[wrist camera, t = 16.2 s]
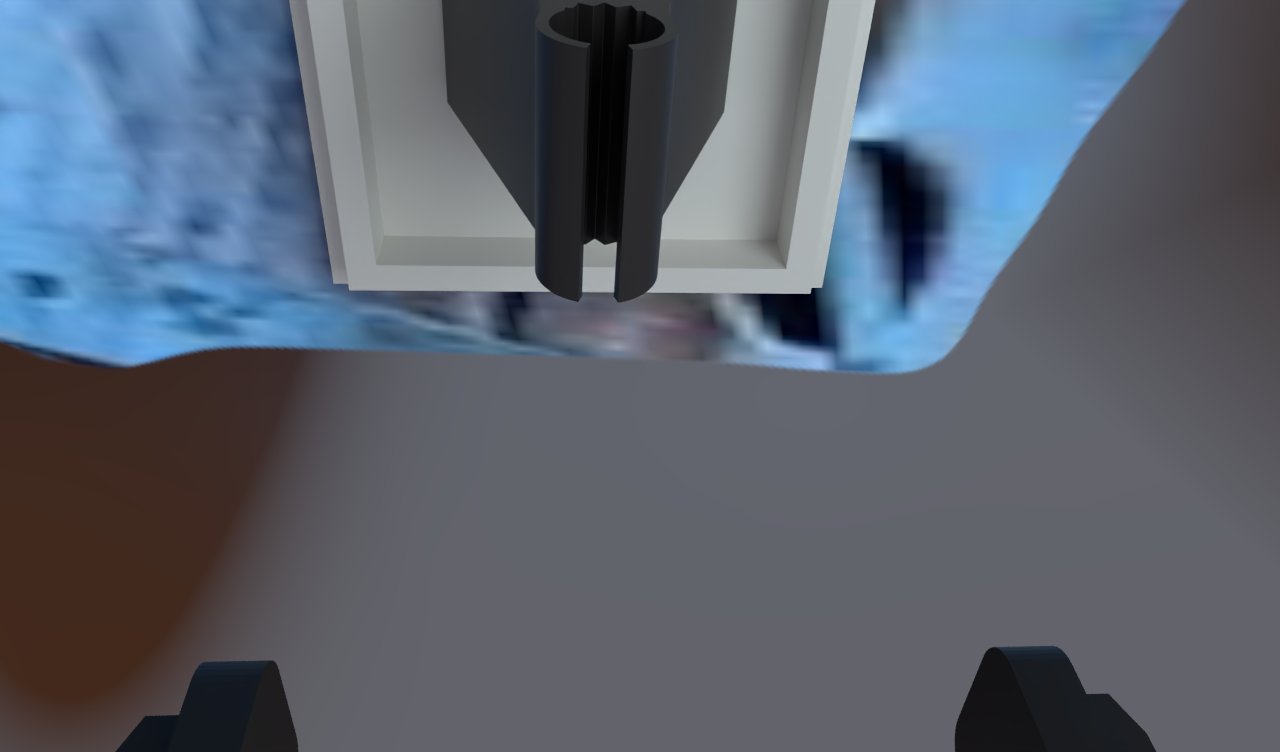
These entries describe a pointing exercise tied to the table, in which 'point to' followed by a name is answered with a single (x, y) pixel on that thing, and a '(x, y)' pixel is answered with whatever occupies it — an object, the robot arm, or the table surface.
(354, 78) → the shallow square tray
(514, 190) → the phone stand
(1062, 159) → the table surface
